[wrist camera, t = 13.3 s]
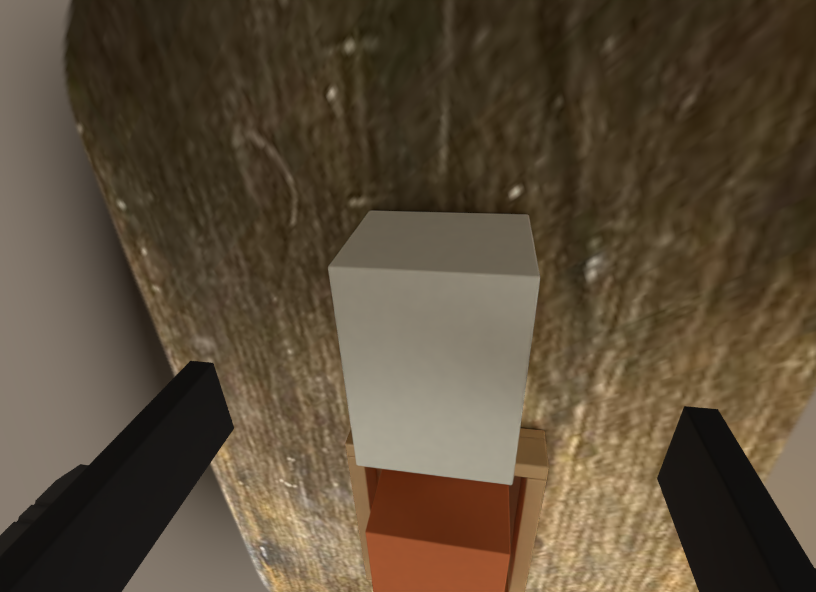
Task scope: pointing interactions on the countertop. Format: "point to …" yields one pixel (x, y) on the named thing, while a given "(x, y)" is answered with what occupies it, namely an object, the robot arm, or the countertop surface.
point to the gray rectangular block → (436, 339)
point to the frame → (521, 502)
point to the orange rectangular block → (438, 534)
